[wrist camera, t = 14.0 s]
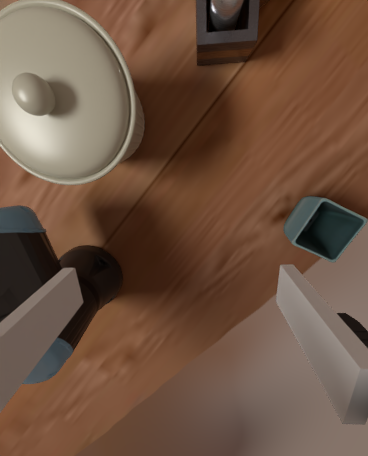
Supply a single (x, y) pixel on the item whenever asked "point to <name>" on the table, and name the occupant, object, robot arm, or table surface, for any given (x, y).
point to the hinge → (227, 35)
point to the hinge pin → (223, 15)
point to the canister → (64, 94)
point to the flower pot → (322, 227)
